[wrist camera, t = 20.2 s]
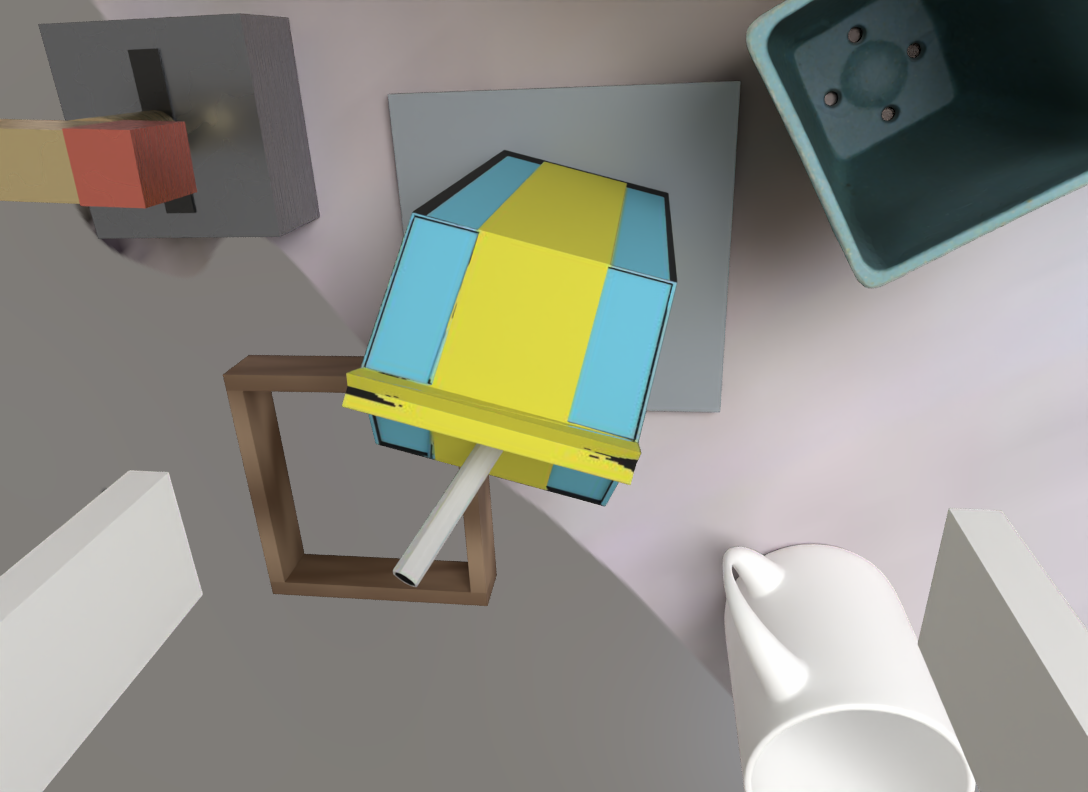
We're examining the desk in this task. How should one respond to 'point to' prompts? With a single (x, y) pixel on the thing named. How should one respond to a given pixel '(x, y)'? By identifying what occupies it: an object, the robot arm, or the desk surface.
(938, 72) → the flower pot
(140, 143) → the key
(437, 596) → the frame
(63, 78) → the block
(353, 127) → the desk surface
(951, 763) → the mug
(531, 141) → the mat
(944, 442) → the desk surface
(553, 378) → the carton
